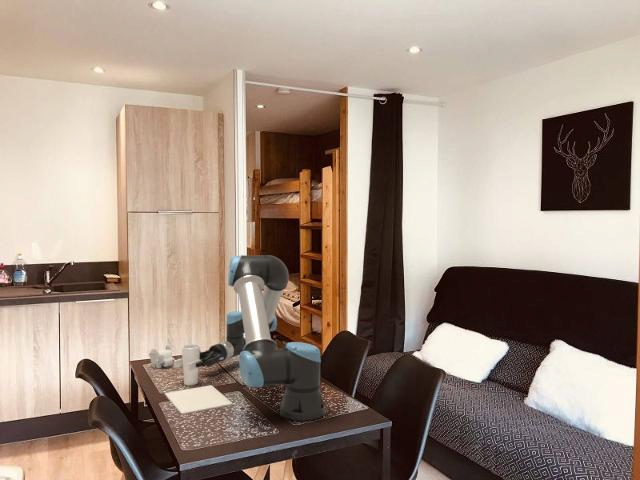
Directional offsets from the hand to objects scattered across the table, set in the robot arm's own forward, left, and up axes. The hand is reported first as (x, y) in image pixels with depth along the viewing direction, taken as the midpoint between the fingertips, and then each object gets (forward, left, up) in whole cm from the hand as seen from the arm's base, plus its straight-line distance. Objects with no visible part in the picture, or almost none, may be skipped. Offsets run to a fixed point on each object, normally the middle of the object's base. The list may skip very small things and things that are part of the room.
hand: (181, 365), depth 192 cm
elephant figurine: (+31, 0, -9) cm, 32 cm away
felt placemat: (-15, -1, -9) cm, 18 cm away
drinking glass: (+3, -4, -9) cm, 10 cm away
